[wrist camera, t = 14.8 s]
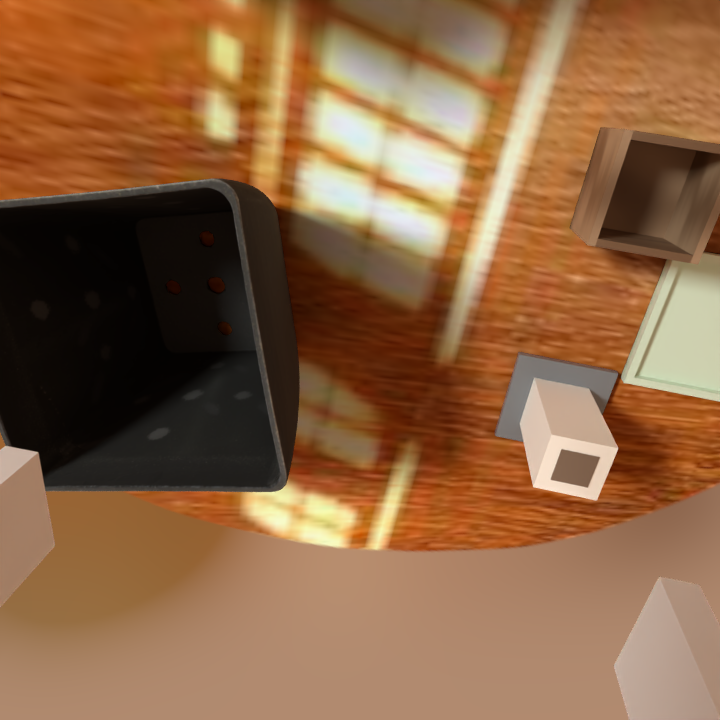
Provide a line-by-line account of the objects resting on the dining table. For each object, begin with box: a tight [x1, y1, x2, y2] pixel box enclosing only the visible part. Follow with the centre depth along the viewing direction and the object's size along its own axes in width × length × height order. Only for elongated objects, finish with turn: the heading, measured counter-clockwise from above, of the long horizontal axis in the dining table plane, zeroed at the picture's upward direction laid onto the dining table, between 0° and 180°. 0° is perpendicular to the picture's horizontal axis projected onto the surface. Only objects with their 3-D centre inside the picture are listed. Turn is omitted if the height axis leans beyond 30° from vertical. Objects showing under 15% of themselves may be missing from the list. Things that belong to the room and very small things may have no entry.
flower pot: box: [0, 179, 299, 492], centre depth 39 cm, size 19×19×17 cm
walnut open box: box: [570, 127, 720, 265], centre depth 36 cm, size 7×7×6 cm
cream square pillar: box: [520, 378, 618, 500], centre depth 42 cm, size 5×5×9 cm
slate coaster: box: [495, 352, 618, 442], centre depth 46 cm, size 8×8×1 cm
